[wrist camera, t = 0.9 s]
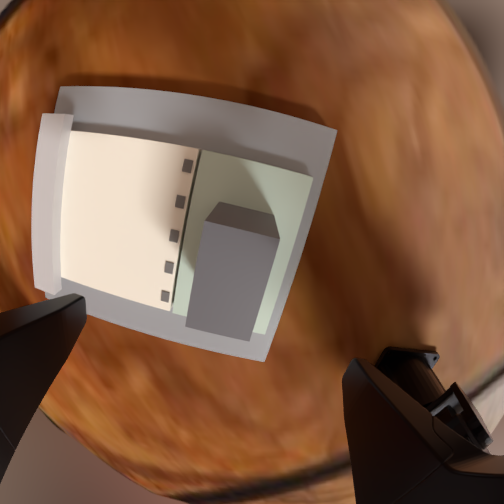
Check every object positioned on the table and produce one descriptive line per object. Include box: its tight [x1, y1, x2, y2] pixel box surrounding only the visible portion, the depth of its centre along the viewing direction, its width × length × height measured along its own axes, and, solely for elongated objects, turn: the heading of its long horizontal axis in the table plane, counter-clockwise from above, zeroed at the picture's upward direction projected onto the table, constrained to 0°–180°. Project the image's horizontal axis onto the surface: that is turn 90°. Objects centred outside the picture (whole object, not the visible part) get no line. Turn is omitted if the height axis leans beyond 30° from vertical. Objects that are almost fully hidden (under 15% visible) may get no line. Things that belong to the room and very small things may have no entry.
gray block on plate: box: [172, 150, 313, 342], centre depth 15 cm, size 6×10×5 cm, turn 166°
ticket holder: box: [32, 86, 337, 362], centre depth 17 cm, size 18×16×3 cm
